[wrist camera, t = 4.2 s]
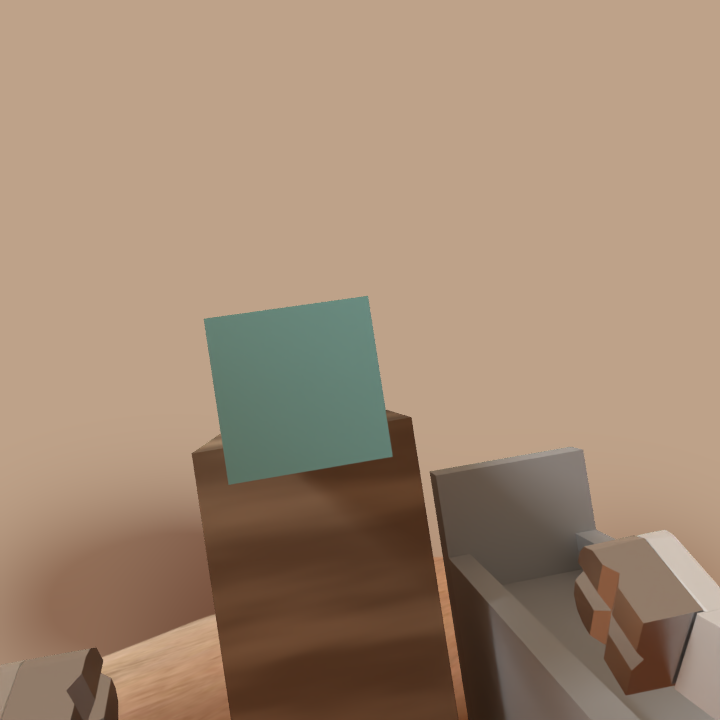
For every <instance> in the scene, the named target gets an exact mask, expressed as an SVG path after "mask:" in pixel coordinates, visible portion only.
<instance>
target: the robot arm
mask: <svg viewBox="0 0 720 720" xmlns="http://www.w3.org/2000/svg"><path fill="white" fill-rule="evenodd" d="M578 563H579V565H580V566H581V568H582V569H583V572H582V573H581V574H580V575H579V576H578V577H577V579H576V580H575V587H574V597H575V602H576V607H577V611H578V613H579V615H580V618H581V620H582V623H583V624H584V626H585V628H586V630H587V631H588V633H589V635H590V636H592V637H593V638H595V639H597V640H598V641H600V642H601V643H603V644H605V651H604V660H605V662H606V664H607V665H608V667H609V669H610V670H611V672H612V674H613V675H614V677H615V679H616V680H617V682H618V684H619V685H620V687H621V689H622V690H623V692H624V694H625V695H626V696H627V695H631V694H636V693H641V692H646V691H651V690H656V689H660V688H665V687H670V686H675V687H674V689H675V690H677V691H678V692H679V693H681V694H682V695H683V696H685V697H686V698H687V699H689V700H690V701H691V702H693V703H694V704H695V705H696V706H698V707H699V708H700V709H702V710H703V711H704V712H706V713H707V714H708V715H710V716H711V717H712V718H714V719H715V720H720V587H719V586H718V584H717V583H716V582H715V581H714V580H713V579H712V578H711V577H710V576H709V574H708V573H707V572H706V571H705V570H704V569H703V568H702V567H701V565H700V564H699V563H698V562H697V561H696V560H695V559H694V557H693V556H692V555H691V554H690V553H689V552H688V551H687V550H686V548H685V547H684V546H683V545H682V544H681V543H680V542H679V541H678V539H677V538H676V537H675V536H674V535H673V534H672V533H670V532H668V531H666V530H662V531H656V532H652V533H647V534H642V535H638V536H630V537H625V538H620V539H616V540H611V541H607V542H602V543H598V544H593V545H588V546H584V547H583V548H582V549H581V551H580V553H579V559H578ZM102 664H103V659H102V657H101V656H100V654H99V652H98V650H97V648H91V649H85V650H80V651H74V652H68V653H63V654H57V655H52V656H46V657H41V658H35V659H29V660H24V661H19V662H14V663H9V664H3V665H0V720H118V698H117V693H116V688H115V686H114V683H113V681H112V679H111V678H110V677H108V676H106V675H104V674H102V673H101V669H102Z"/></svg>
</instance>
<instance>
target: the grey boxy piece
mask: <svg viewBox="0 0 720 720" xmlns="http://www.w3.org/2000/svg"><path fill="white" fill-rule="evenodd" d="M430 476H431V483H432V489H433V495H434V502H435V508H436V515H437V521H438V528H439V534H440V540H441V547H442V553H443V560H444V566H445V572H446V579H447V585H448V592H449V598H450V604H451V611H452V617H453V624H454V630H455V636H456V643H457V649H458V656H459V662H460V668H461V675H462V681H463V688H464V694H465V700H466V707H467V713H468V720H715V719H714V718H712V717H711V716H710V715H708V714H707V713H706V712H704V711H703V710H702V709H700V708H699V707H698V706H696V705H695V704H694V703H693V702H691V701H690V700H689V699H687V698H686V697H685V696H683V695H682V694H681V693H679V692H678V691H677V690H675V689H674V687H675V686H670V687H665V688H660V689H656V690H651V691H646V692H641V693H636V694H631V695H627V696H626V695H625V694H624V692H623V690H622V689H621V687H620V685H619V684H618V682H617V680H616V679H615V677H614V675H613V674H612V672H611V670H610V669H609V667H608V665H607V664H606V662H605V660H604V651H605V644H603V643H601V642H600V641H598V640H597V639H595V638H593V637H592V636H590V635H589V633H588V631H587V630H586V628H585V626H584V624H583V623H582V620H581V618H580V615H579V613H578V611H577V607H576V602H575V597H574V587H575V580H576V579H577V577H578V576H579V575H580V574H581V573H582V572H583V569H582V568H581V566H580V565H579V563H578V559H579V553H580V551H581V549H582V548H583V547H584V546H588V545H593V544H598V543H602V542H607V541H611V540H616V539H614V538H612V537H610V536H608V535H606V534H604V533H602V532H600V531H598V530H596V527H595V521H594V515H593V509H592V503H591V496H590V490H589V484H588V478H587V472H586V466H585V459H584V454H583V450H582V449H578V448H574V447H567V448H561V449H556V450H550V451H544V452H538V453H533V454H528V455H521V456H516V457H510V458H504V459H499V460H493V461H487V462H482V463H476V464H470V465H465V466H459V467H453V468H448V469H442V470H436V471H430Z"/></svg>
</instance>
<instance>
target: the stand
mask: <svg viewBox="0 0 720 720" xmlns="http://www.w3.org/2000/svg"><path fill="white" fill-rule="evenodd" d="M386 416H387V423H388V429H389V436H390V442H391V449H392V455H393V457H388V458H382V459H376V460H370V461H365V462H359V463H353V464H347V465H341V466H335V467H330V468H324V469H318V470H312V471H306V472H300V473H295V474H289V475H283V476H277V477H271V478H265V479H260V480H254V481H248V482H242V483H236V484H231V485H229V484H228V478H227V471H226V464H225V457H224V451H223V444H222V437H221V434H219V435H218V436H217V437H215V438H214V439H212V440H211V441H209V442H208V443H206V444H205V445H203V446H202V447H201V448H199V449H198V450H196V451H195V452H193V453H192V458H193V464H194V472H195V478H196V485H197V492H198V499H199V506H200V512H201V519H202V525H203V533H204V539H205V546H206V552H207V560H208V565H209V573H210V580H211V587H212V593H213V600H214V607H215V614H216V621H217V627H218V634H219V641H220V648H221V654H222V661H223V668H224V675H225V681H226V688H227V695H228V702H229V708H230V715H231V720H458V713H457V707H456V701H455V694H454V688H453V681H452V675H451V669H450V662H449V656H448V649H447V643H446V636H445V630H444V624H443V617H442V611H441V604H440V598H439V592H438V585H437V579H436V572H435V566H434V560H433V554H432V547H431V541H430V534H429V528H428V521H427V515H426V508H425V503H424V496H423V489H422V483H421V477H420V470H419V464H418V457H417V450H416V444H415V439H414V431H413V425H412V418H411V417H408V416H405V415H402V414H398V413H395V412H392V411H388V410H386Z"/></svg>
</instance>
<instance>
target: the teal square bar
mask: <svg viewBox="0 0 720 720" xmlns="http://www.w3.org/2000/svg"><path fill="white" fill-rule="evenodd" d="M204 323H205V330H206V337H207V343H208V350H209V356H210V364H211V370H212V377H213V384H214V390H215V397H216V403H217V411H218V417H219V424H220V431H221V437H222V444H223V451H224V457H225V464H226V471H227V478H228V484H229V485H231V484H236V483H242V482H248V481H254V480H260V479H265V478H271V477H277V476H283V475H289V474H295V473H300V472H306V471H312V470H318V469H324V468H330V467H335V466H341V465H347V464H353V463H359V462H365V461H370V460H376V459H382V458H388V457H393V455H392V449H391V442H390V436H389V429H388V423H387V416H386V410H385V403H384V397H383V391H382V384H381V378H380V372H379V365H378V358H377V352H376V345H375V339H374V333H373V326H372V319H371V313H370V307H369V300H368V296H364V297H357V298H350V299H343V300H336V301H329V302H321V303H314V304H307V305H300V306H293V307H286V308H278V309H272V310H264V311H257V312H250V313H243V314H235V315H228V316H221V317H214V318H207V319H204Z"/></svg>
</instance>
